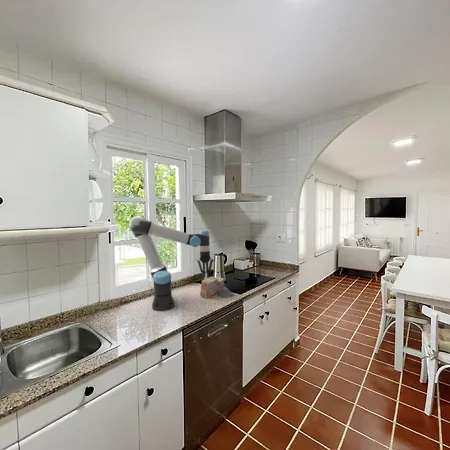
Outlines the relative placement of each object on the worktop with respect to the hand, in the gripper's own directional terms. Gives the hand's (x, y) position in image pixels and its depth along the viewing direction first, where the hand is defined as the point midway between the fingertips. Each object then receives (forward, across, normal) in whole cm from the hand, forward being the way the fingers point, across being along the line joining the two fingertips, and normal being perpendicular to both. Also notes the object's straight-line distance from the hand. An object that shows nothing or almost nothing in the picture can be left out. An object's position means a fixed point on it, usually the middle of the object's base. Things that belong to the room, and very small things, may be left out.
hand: (206, 281), depth 193 cm
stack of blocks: (+10, +5, 0) cm, 11 cm away
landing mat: (+11, +14, 0) cm, 18 cm away
